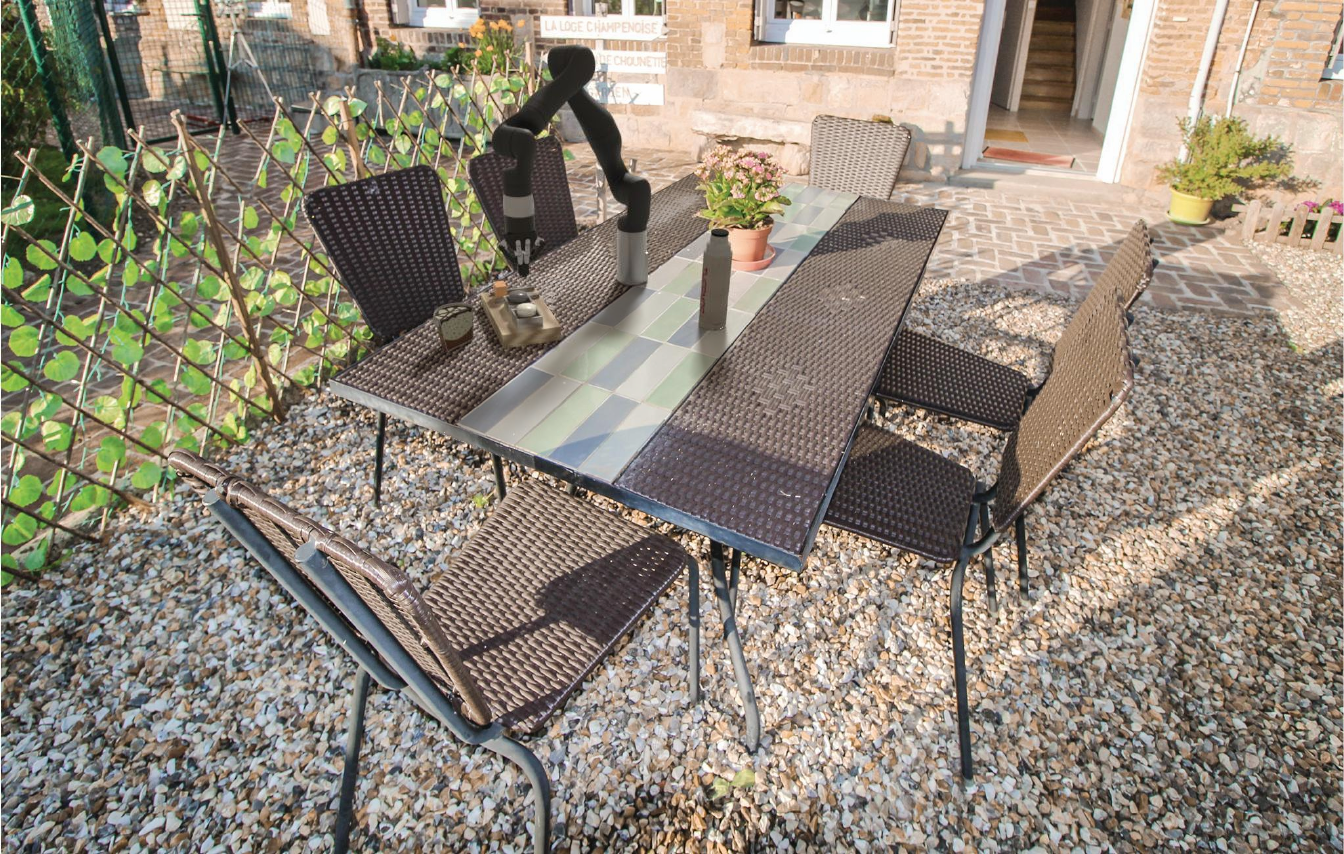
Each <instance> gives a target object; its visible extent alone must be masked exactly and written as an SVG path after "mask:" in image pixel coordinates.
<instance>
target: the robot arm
mask: <svg viewBox="0 0 1344 854" xmlns="http://www.w3.org/2000/svg"><path fill="white" fill-rule="evenodd" d="M546 61H547V62H546V63H547V68H548V71H549V75H550V77H551V79H552V80H551V81H550V82H548V83H546V84H545V85H544V86H542V87H540V88H539V89H537V90H536V91H534V93H532V95H530V96H529V97H528V98H527V100H526V101H525V102H524V103H523V105H522V106H521V107H520V109H519V110H518V111H517V112H515V113H514V114H512V115H511V116H509V117H508V118H506V119H504V120H503V121H502V122H501V123H499V124H498V126H497V127H495V129H494V131H493V133H492V135H491V140H490V141H491V147H492V150H493V152H494V153H495V154H496V155H498V156H500V157H503V158H509V159H514V160H516V164H515V166H509V167H506V168H505V169H503V170H502V173H501V181H502V183H501V184H502V194H503V196H502V198H503V199H502V206H503V207H502V208H503V218H504V235H503V239H502V240H501V241H500V242H496V247H497V249H498V250H499V251H500V252H501V253H502V254H503V255H504V256H505V257H506V258H507V259H508V260H509V261H510V263H511V264H516V269H517V270H516V271H517V273H518V276H519V277H521V278H528V275H530V263H531V262H532V261H533V262H535V260H537V258H538V257H539V255H540V253H541V252H542V251H543V250H544V248H545V246H546V245H547V242H546V241H545V240H544V238H543V237H539V235H538V233H537V232H536V231H537V230H536V221H535V219H536V217H535V211H536V210H535V203H534V197H533V185H532V174H533V170H534V164H535V158H536V154H537V149H538V147H537V146H538V144H537V139H536V137H537V136H539V135H541V133H542V132H543V131H544V130H545V128H546V127H547V126H548V124H549V123H550V122H551V120H552V119H553V117H555V115H556V114H557V113H558V112H559V110H560V109H562V107H563V106H564V105H565V104H566V103H567V104H568V106H569V108H570V109H571V111H572V113H573V114H574V115H573V116H574V117H575V118H576V120H577V122H578V123H579V126H580V128H581V130H582V132H583V134H584V137H585V138H586V141H587V142H588V145H589V146H590V148H591V149H592V151H593V153H594V155H595V157H596V159H597V162H598V164H599V165H600V168H601V169H602V172H603V174H604V176H605V179H606V182H607V184H608V187H609V188H608V189H609V190H610V192H611V194H612V197H613V198H614V199H615V200H616V202H617V203H619V204H621V205H624V206H626V207H627V208H626V214H624V215H621V216H619V217H618V218H617V222H616V223H617V224H616V225H617V226H616V281H617V282H618V283H620V284H622V285H626V286H638V285H642V284H644V283H645V282H648V281H649V252H648V251H647V232H648V230H647V229H648V222H649V219H650V217H651V216H650V215H651V205H652V186H651V184H650V182H649V181H648V180H647V179H646V178H644V177H642V176H639V175H635V174H632V173H631V172H630V171H629V170H628V168H627V165H626V164H625V162H624V160H623V158H622V146H623V145H622V144H623V139H622V135H621V131H620V130H619V127H618V125H617V123H616V121H615V119H614V117H613V115H612V114H611V112H610V111H609V110H608V109H606V107H605V106H604V105H602V104H601V103H600V102H599V101H598V100H597V99H596V98H595V97H593V96H592V95H591V94H589V92H588V91H587V90H586V89H585V86H586V85H587V84H589V82H591V80H592V79H593V77H594V75H595V73H596V67H597V65H596V58H595V55H594V52H593V51H592V49H591V48H590V47H589V46H587V45H584V44H580V43H579V44H577V43H576V44H569V45H568V44H567V45H566V44H565V45H558V46H554V47H552V48H550V49H549V52H548V53H547V59H546ZM534 244H535V245H534ZM507 245H508V246H509V247H510V248H511V249H512V250H513V251H514V255H513V254H512V253H511V252H510V251H509V250H508V246H507ZM533 246H534V247H533ZM532 247H533V248H532Z"/></svg>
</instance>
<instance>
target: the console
mask: <svg viewBox="0 0 1344 854" xmlns="http://www.w3.org/2000/svg"><path fill="white" fill-rule="evenodd" d="M515 290H522V291H525V292H527V299H528V300H527V301H526V302H525V303H530V304H533V305H535V306H536V314H535V315H534V316H532V317H520V316H518V314H517V306H518V305H520V304H523V303H520V304H515V303H512V302H510V301H509V293H510V292H512V291H515ZM507 295H508V296H503V298H498V299H496V297H495V295H494V290H489V291H486V292H481V293H480V302H481V306H482V307H481V308H482V309H483V311H484V313H485V315H486V316H487V319H488V320H489V321H488V322H490V324H491V326H492V328H493V330H494V332H495V334H496V337H497V339H498V340H499V342H500V344H501V346H502V348H503V349H509V348H515V347H517V348H518V347H523V346H530V345H535V344H540V343H541V344H542V343H548V342H555V341H561V340H562V326H561V324H560V323H559V321H558V320H557V318H556V317H555V315H554V314H553V313H552V311H551V310H550V308H549V306H548V305H547V304H546V302H545V300H544V299H543V298H542V296H541V295H540V293H539V292H538V290H537V288H536V287H535V285H527V286H520V287H512V288H507Z"/></svg>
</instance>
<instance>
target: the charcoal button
mask: <svg viewBox="0 0 1344 854" xmlns="http://www.w3.org/2000/svg"><path fill="white" fill-rule="evenodd" d="M527 300H528V299H527V292H525V291H522V290H515V291H512V292H510V293H509V301H510V302H512V303H515V304H520V303H525V302H526V301H527Z"/></svg>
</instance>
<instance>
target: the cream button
mask: <svg viewBox="0 0 1344 854" xmlns="http://www.w3.org/2000/svg"><path fill="white" fill-rule="evenodd" d="M517 314H518V316H520V317H532V316H534V315H535V314H536V306H535V305H533V304H530V303H523V304H520V305H518V306H517Z"/></svg>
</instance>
